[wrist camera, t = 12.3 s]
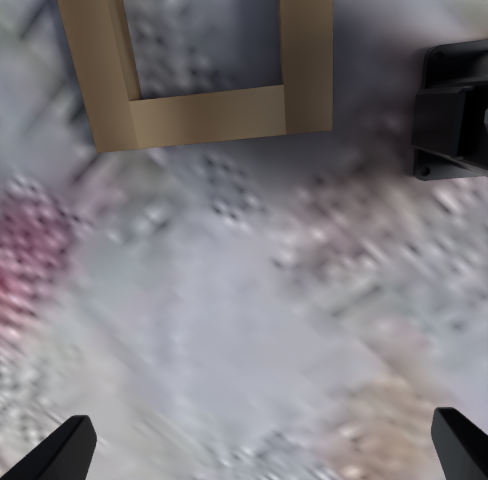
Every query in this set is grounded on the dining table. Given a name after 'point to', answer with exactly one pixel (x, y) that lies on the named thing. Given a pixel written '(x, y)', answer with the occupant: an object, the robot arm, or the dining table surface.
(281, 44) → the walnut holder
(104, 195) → the dining table surface
